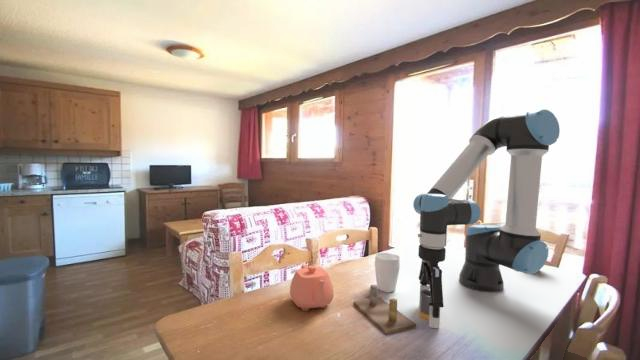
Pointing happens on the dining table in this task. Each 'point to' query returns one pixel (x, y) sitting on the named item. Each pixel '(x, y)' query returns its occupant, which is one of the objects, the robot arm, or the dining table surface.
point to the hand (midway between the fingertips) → (428, 315)
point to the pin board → (384, 313)
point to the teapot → (311, 288)
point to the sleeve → (424, 304)
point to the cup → (387, 271)
